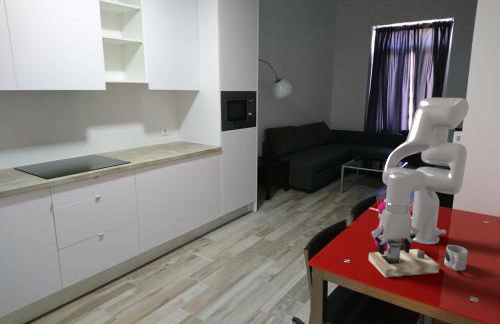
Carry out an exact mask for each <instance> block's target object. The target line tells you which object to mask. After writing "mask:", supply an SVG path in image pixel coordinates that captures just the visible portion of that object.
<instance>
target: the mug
mask: <svg viewBox="0 0 500 324" xmlns="http://www.w3.org/2000/svg"><path fill="white" fill-rule="evenodd" d="M468 254H469V251H468V249H466V248H465V247H463V246H460V245H455V244H447V246H446V248H445V253H444V262H443V263H444V266H445V267H447V268H449V269H450V270H453V271H454V272H458V271H460V272H462V271H465V270H466V267H467V260H468Z"/></svg>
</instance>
